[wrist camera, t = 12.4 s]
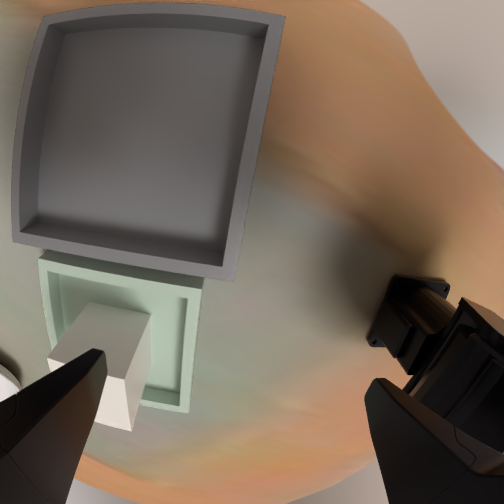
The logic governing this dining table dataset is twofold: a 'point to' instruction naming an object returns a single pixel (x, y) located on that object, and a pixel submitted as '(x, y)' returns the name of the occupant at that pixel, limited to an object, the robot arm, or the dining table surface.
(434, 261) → the dining table surface
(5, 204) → the dining table surface
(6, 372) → the salad plate
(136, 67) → the gray square tray
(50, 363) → the block
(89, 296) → the holder
